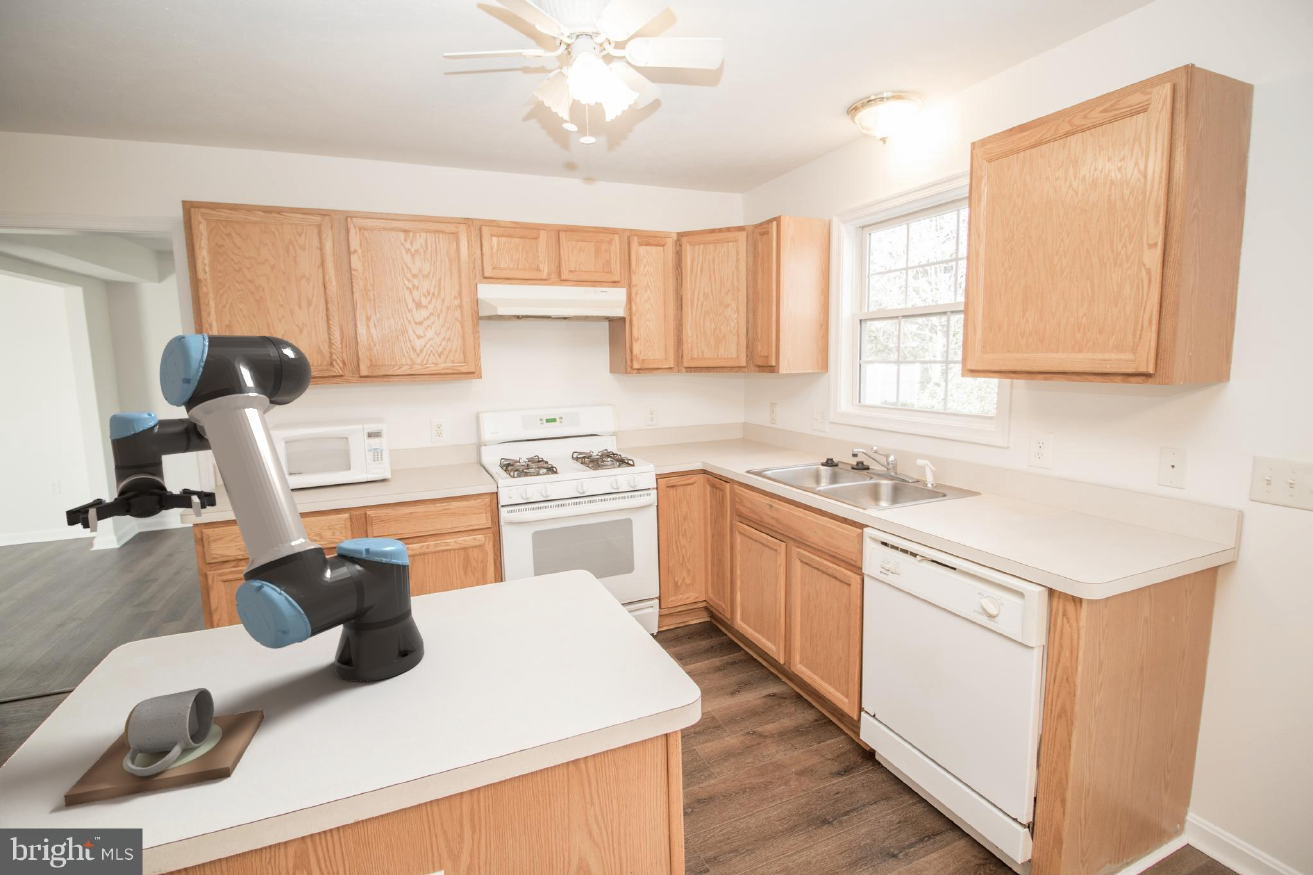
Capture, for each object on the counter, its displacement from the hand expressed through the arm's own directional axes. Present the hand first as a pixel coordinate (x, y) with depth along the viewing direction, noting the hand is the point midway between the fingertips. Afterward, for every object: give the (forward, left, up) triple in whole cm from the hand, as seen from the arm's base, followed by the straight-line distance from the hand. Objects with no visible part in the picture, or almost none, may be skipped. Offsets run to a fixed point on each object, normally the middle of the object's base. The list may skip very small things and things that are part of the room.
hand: (147, 516), depth 101 cm
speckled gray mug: (-11, +25, -28) cm, 40 cm away
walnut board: (-11, +24, -30) cm, 40 cm away
